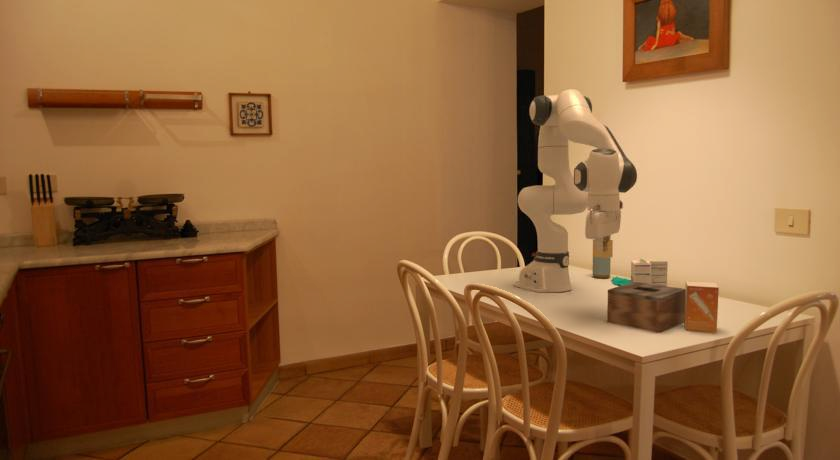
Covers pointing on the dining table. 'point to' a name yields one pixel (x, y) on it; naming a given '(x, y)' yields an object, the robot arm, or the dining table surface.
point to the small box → (701, 306)
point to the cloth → (620, 281)
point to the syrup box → (641, 271)
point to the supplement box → (658, 270)
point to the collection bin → (646, 306)
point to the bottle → (601, 267)
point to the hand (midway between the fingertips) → (602, 251)
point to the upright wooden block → (607, 249)
